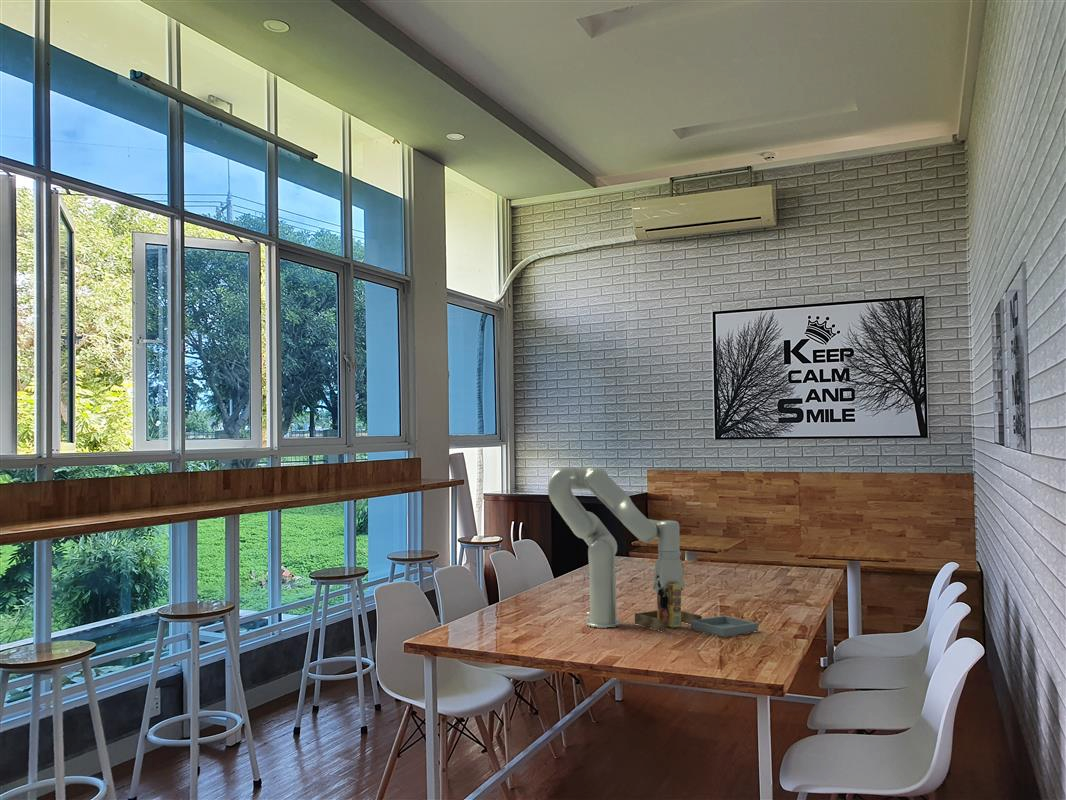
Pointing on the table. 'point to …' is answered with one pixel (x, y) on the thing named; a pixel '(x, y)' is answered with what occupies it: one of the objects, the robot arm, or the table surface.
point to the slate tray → (724, 626)
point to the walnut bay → (652, 622)
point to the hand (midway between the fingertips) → (669, 606)
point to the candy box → (671, 606)
